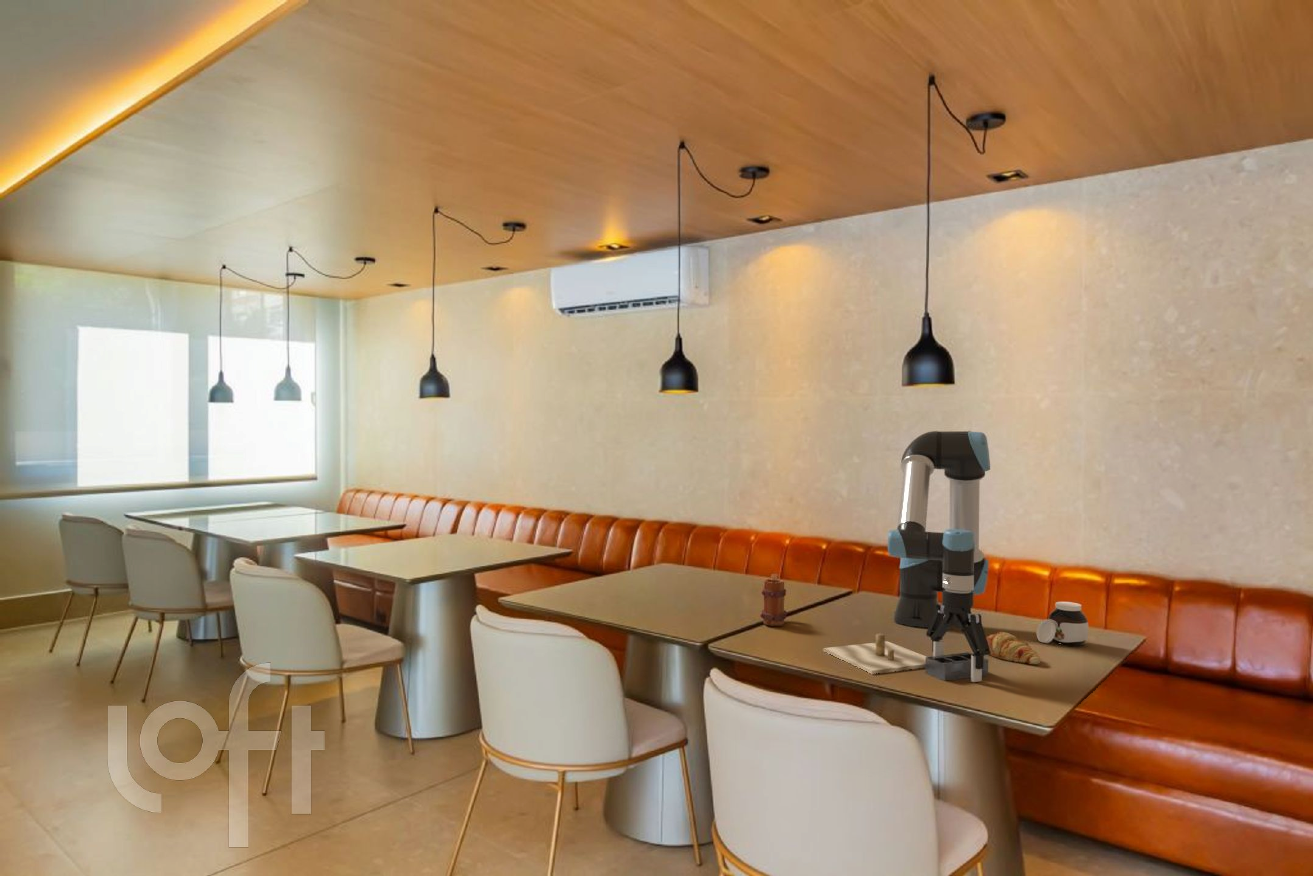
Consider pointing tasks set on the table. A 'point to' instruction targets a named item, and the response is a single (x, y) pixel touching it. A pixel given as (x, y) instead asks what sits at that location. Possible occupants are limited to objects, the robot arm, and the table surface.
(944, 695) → the table surface
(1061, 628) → the spread jar
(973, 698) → the table surface
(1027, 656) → the croissant
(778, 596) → the brown banded canister
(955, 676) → the grey compartment tray
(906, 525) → the robot arm
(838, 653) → the mount board
